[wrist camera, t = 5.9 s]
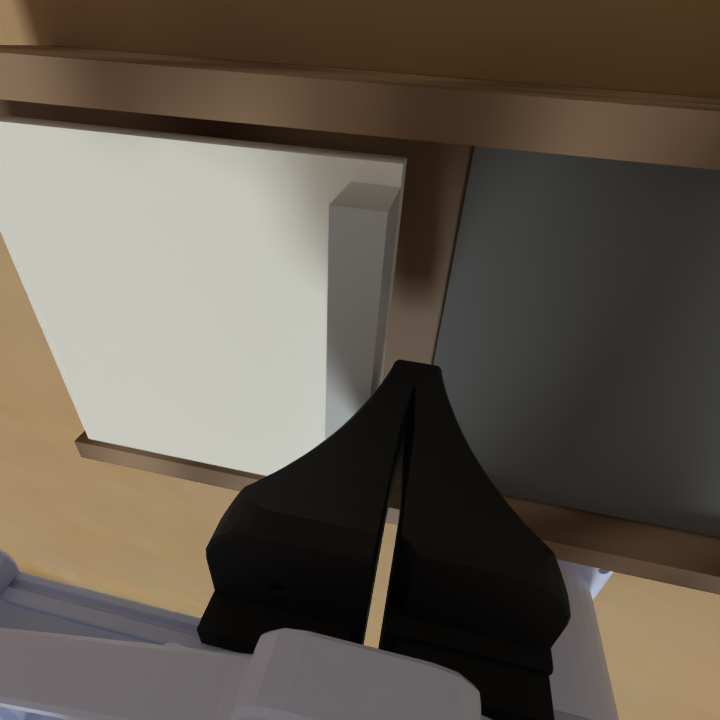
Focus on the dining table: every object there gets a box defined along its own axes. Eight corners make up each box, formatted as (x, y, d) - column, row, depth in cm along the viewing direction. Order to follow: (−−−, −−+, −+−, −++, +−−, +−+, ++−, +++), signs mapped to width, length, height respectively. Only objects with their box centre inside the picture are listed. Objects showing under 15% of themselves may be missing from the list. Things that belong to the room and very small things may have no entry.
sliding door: (407, 157, 11) (390, 185, 8) (371, 480, 18) (356, 543, 15) (-22, 112, 12) (-133, 126, 10) (101, 425, 19) (52, 475, 17)
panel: (1078, 199, 10) (1100, 204, 9) (749, 535, 17) (754, 544, 17) (474, 141, 11) (475, 143, 11) (412, 469, 19) (411, 476, 18)
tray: (1019, 122, 11) (1324, 161, 7) (712, 494, 20) (773, 606, 16) (48, 45, 15) (-107, 43, 11) (147, 388, 24) (81, 456, 20)
